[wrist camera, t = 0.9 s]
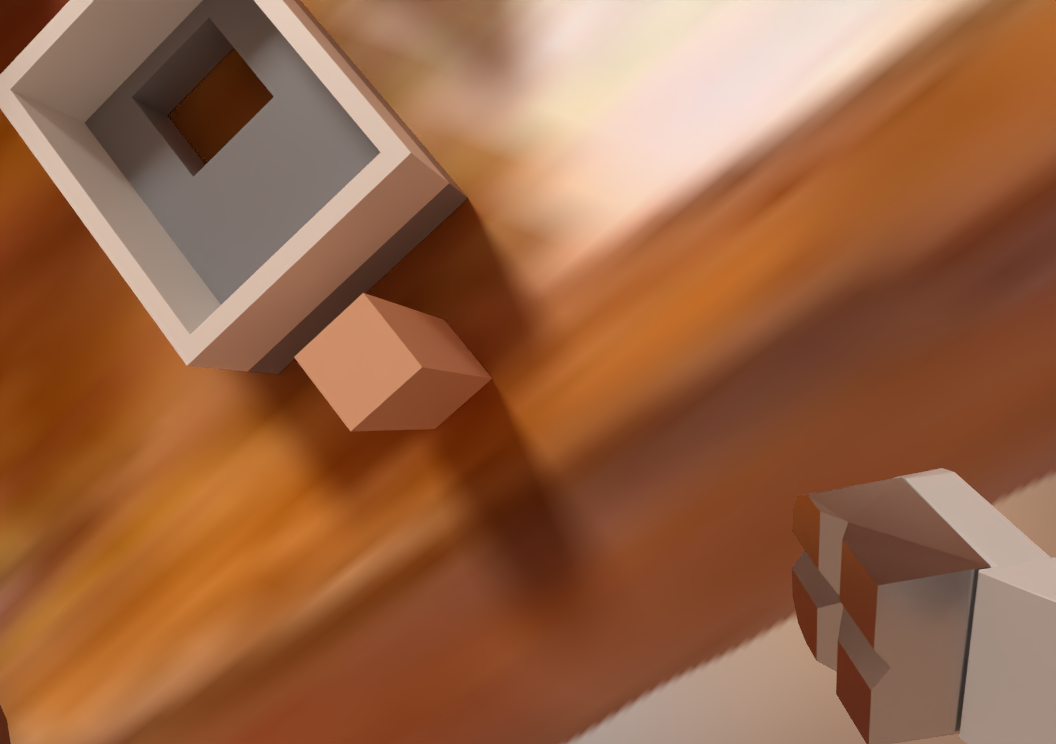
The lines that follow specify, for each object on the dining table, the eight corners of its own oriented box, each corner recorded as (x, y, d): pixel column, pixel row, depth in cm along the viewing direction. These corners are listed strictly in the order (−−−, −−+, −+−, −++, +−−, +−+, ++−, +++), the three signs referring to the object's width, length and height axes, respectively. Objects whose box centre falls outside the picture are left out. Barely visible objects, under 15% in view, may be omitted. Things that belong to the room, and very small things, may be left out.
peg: (444, 319, 46) (363, 292, 36) (492, 378, 45) (422, 367, 35) (388, 370, 46) (293, 357, 37) (434, 429, 46) (350, 431, 36)
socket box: (270, -35, 49) (181, -120, 42) (468, 198, 46) (411, 152, 38) (101, 139, 51) (-14, 89, 44) (277, 374, 48) (186, 365, 40)
